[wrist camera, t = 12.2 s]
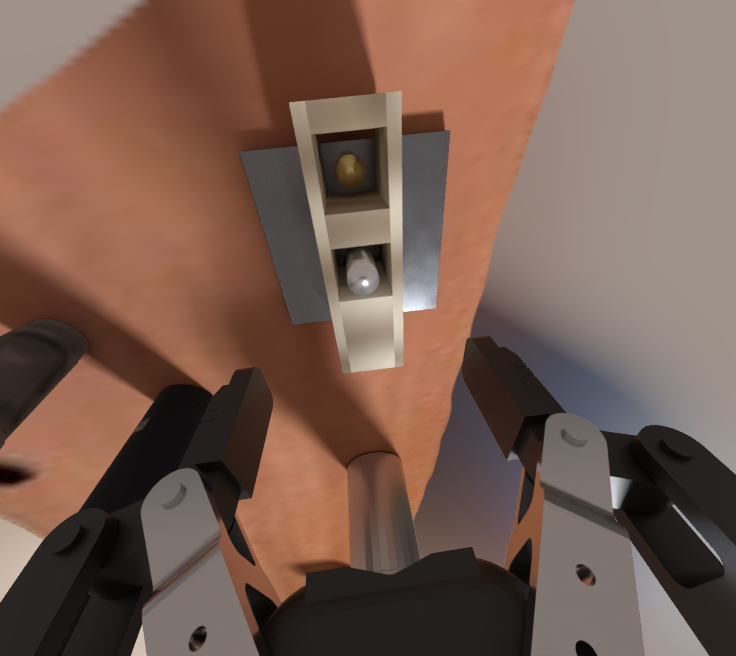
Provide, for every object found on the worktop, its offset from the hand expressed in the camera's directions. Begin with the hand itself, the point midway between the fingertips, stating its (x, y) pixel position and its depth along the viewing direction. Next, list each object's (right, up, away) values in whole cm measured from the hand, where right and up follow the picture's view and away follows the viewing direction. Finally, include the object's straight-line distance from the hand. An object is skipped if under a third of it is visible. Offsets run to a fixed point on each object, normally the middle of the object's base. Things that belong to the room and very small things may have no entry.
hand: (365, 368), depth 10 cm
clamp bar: (-1, +8, +11) cm, 14 cm away
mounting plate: (-1, +9, +12) cm, 15 cm away
